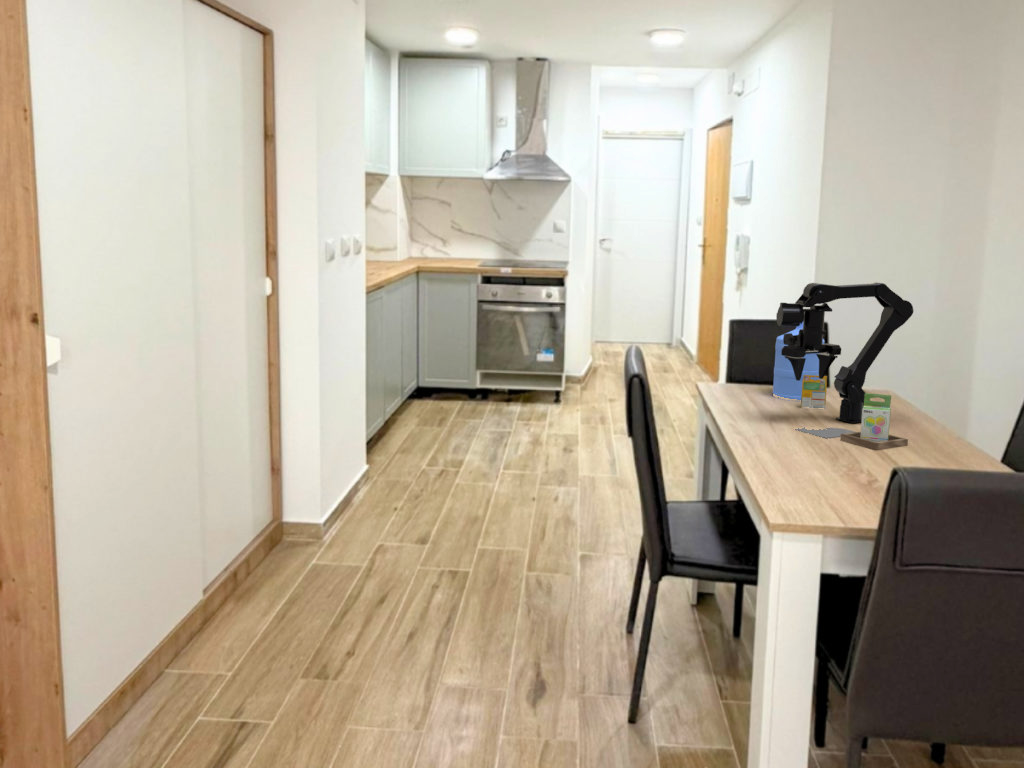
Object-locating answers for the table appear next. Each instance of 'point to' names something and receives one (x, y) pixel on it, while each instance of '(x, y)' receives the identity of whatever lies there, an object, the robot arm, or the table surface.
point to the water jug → (784, 372)
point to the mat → (826, 432)
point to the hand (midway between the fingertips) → (809, 379)
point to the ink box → (875, 418)
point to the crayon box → (813, 392)
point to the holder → (891, 443)
